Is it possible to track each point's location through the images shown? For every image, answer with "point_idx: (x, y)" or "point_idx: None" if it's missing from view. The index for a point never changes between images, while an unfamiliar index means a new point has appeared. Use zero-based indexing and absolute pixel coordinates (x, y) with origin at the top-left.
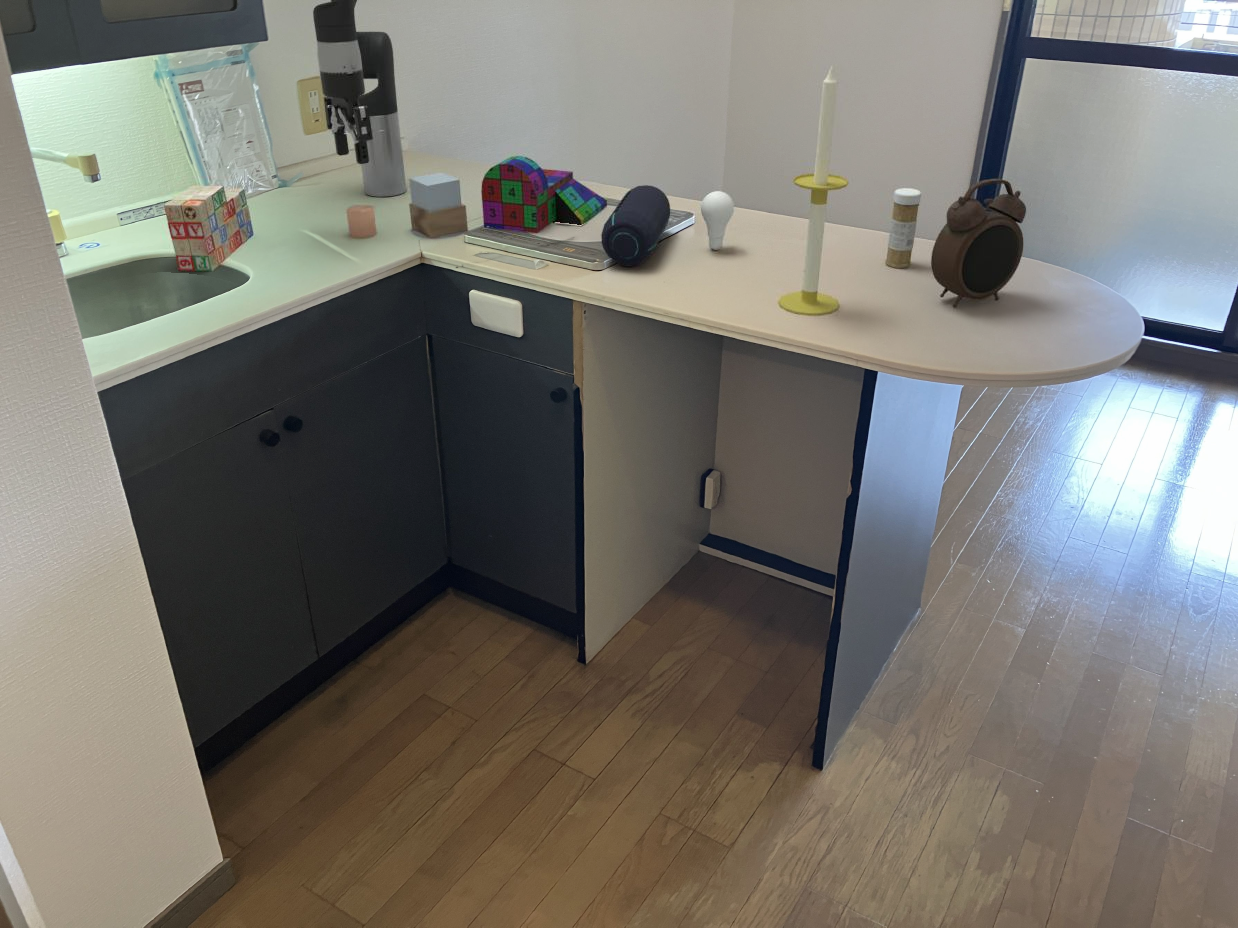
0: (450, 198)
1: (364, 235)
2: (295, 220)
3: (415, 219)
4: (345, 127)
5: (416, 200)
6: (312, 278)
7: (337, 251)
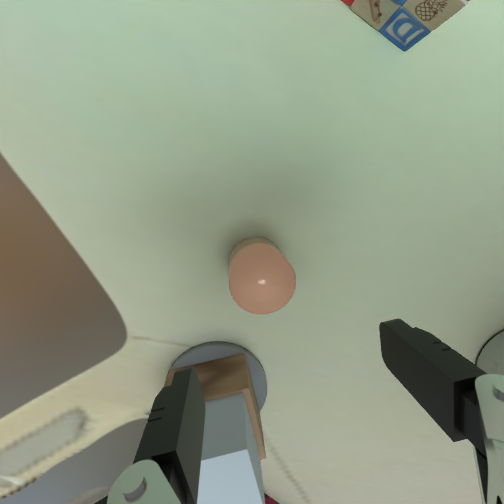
0: None
1: (229, 263)
2: (447, 165)
3: (226, 372)
4: (485, 493)
5: (219, 409)
6: (41, 105)
7: (202, 197)
